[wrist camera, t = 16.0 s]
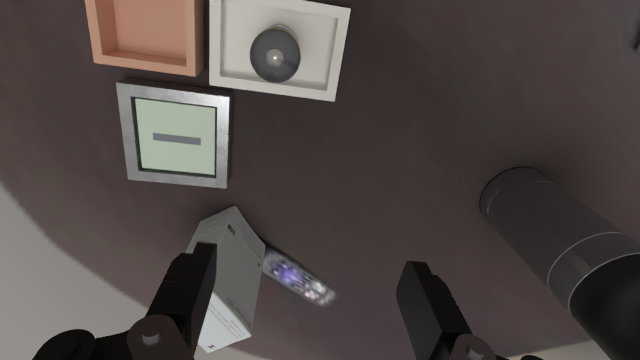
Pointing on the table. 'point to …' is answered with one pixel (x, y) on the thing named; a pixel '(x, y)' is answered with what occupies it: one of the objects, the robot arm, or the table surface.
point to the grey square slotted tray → (184, 94)
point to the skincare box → (230, 278)
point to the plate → (177, 135)
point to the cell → (275, 53)
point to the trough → (258, 14)
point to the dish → (148, 34)
